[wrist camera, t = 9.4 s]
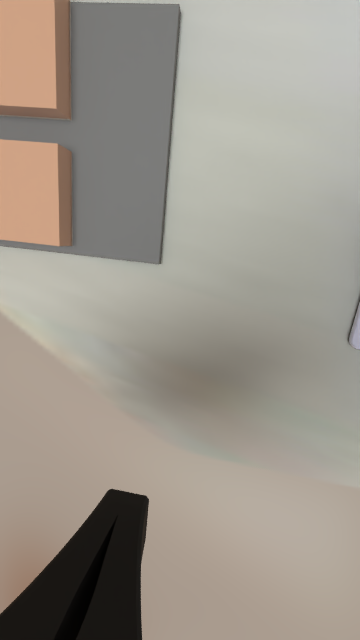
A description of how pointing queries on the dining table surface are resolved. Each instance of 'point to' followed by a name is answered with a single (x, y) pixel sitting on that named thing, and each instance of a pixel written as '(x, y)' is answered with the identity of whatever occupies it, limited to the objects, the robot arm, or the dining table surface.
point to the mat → (114, 128)
